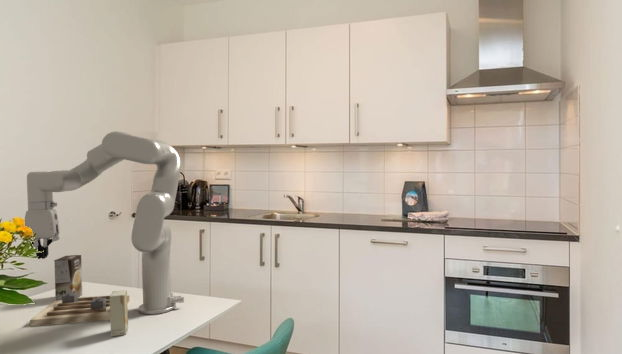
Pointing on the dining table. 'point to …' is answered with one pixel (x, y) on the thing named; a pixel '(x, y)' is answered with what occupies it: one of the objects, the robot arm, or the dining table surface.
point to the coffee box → (68, 276)
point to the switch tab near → (98, 303)
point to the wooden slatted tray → (72, 312)
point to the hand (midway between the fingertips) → (42, 257)
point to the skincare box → (118, 313)
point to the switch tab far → (70, 297)
